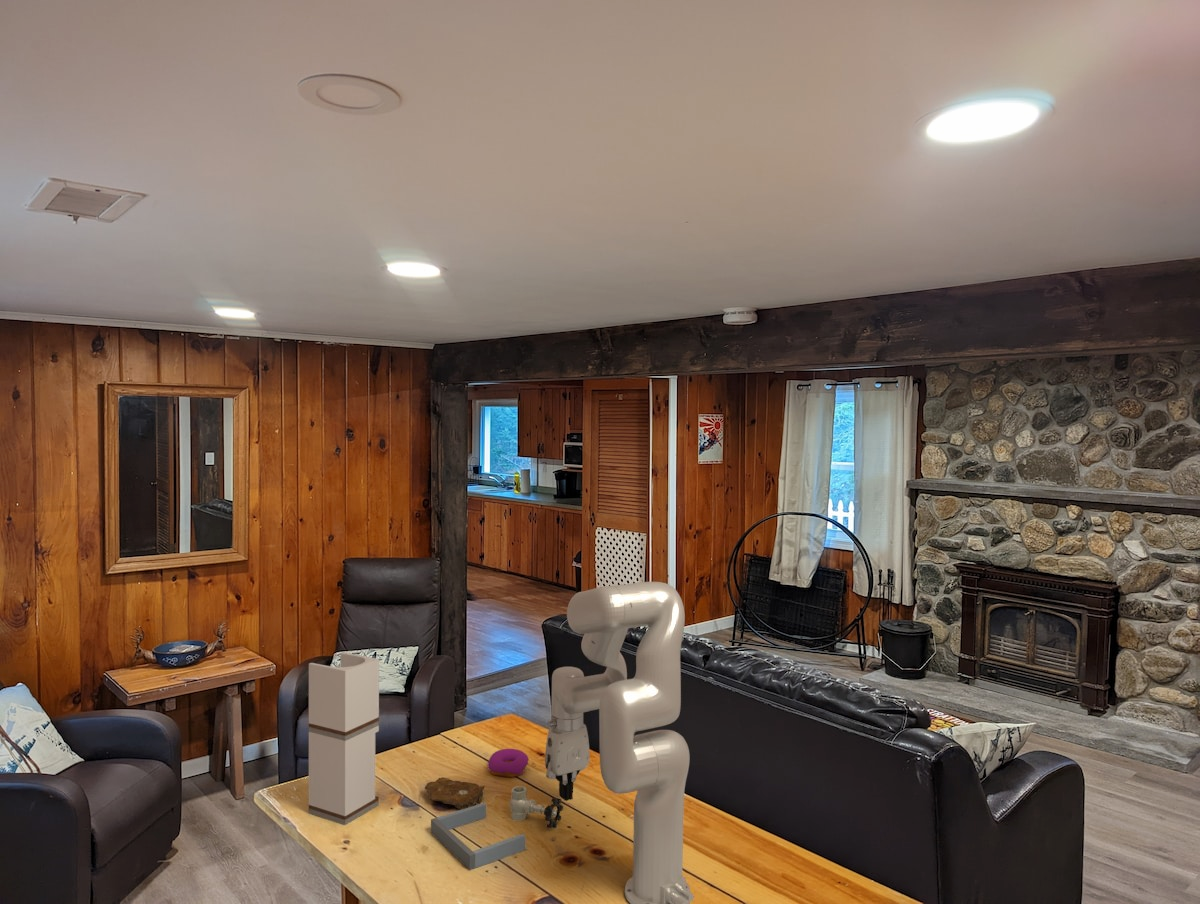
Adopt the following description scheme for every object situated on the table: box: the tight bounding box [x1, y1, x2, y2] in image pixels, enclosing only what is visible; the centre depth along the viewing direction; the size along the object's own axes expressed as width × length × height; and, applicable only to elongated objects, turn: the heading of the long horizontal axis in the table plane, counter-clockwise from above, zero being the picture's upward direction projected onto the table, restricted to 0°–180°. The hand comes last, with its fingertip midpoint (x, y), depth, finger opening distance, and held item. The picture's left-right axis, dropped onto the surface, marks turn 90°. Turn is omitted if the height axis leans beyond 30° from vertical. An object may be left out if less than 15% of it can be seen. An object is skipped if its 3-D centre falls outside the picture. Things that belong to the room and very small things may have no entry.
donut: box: [487, 748, 530, 778], centre depth 206 cm, size 10×10×5 cm
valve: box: [509, 785, 564, 829], centre depth 180 cm, size 7×7×12 cm
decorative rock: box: [424, 777, 486, 811], centre depth 190 cm, size 11×4×15 cm
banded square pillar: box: [308, 652, 380, 826], centre depth 184 cm, size 11×11×35 cm
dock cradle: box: [430, 802, 527, 871], centre depth 171 cm, size 18×13×3 cm
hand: (565, 797), depth 185 cm, fingers closed
